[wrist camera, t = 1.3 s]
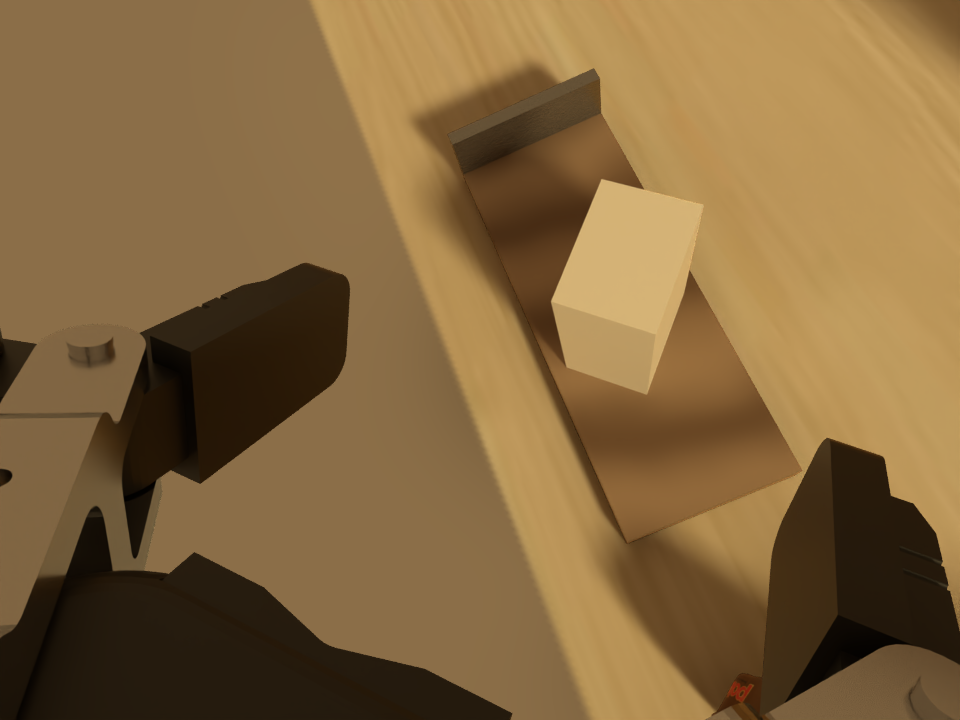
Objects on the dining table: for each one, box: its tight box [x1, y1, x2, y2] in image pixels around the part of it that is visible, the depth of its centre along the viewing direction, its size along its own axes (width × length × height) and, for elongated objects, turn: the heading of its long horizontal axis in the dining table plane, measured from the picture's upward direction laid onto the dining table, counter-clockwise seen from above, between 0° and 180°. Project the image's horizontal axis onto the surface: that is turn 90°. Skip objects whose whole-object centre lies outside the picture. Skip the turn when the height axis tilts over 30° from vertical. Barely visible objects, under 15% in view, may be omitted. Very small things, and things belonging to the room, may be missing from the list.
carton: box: [551, 179, 704, 395], centre depth 32 cm, size 6×4×9 cm
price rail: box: [448, 69, 601, 175], centre depth 40 cm, size 1×9×3 cm, turn 111°
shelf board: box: [461, 114, 802, 544], centre depth 38 cm, size 24×9×2 cm, turn 21°
